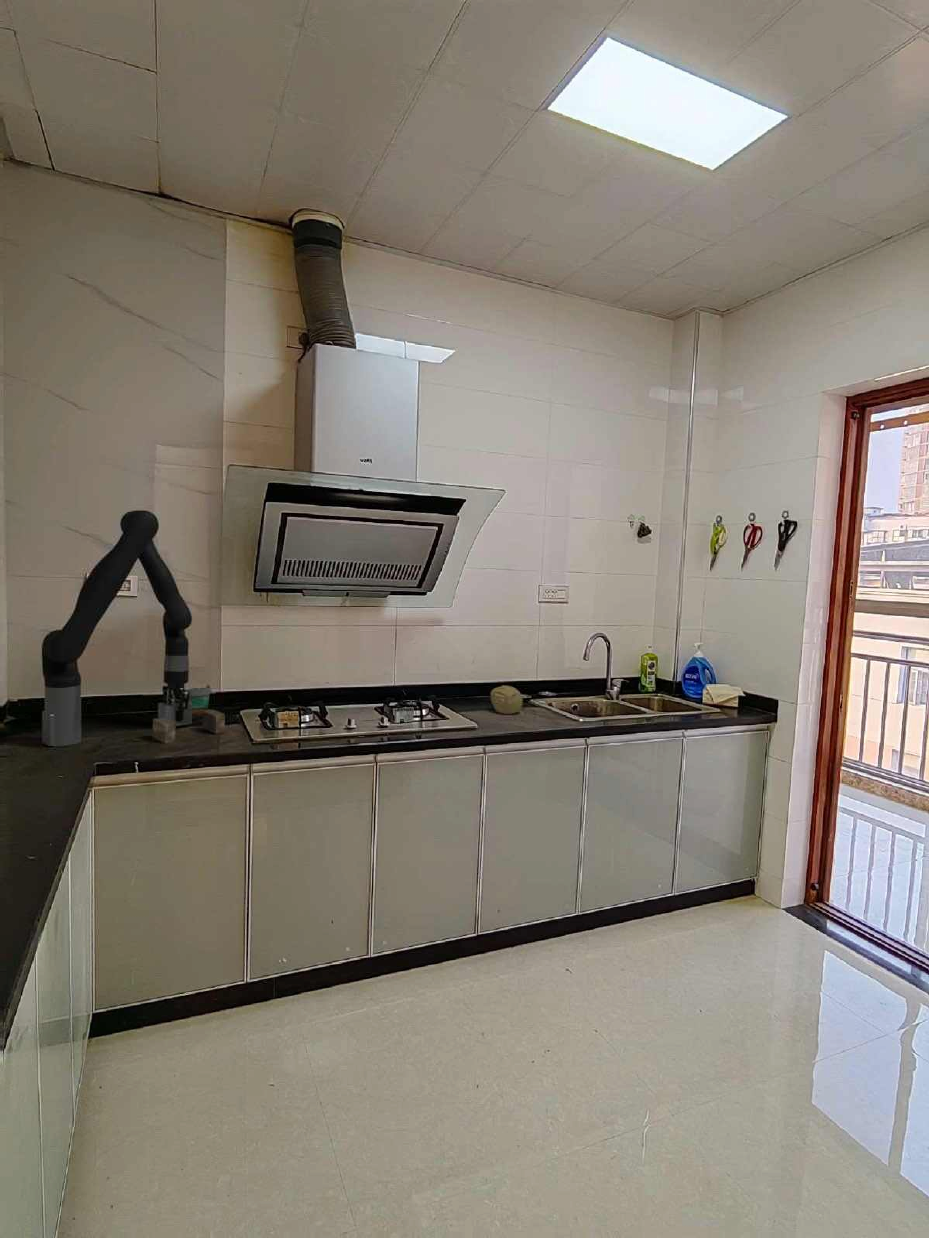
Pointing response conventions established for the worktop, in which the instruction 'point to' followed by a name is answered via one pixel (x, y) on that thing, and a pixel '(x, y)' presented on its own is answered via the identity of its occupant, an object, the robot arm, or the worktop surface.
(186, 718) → the block
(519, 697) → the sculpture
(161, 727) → the beige brown block
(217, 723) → the block
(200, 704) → the food container
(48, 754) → the worktop surface
